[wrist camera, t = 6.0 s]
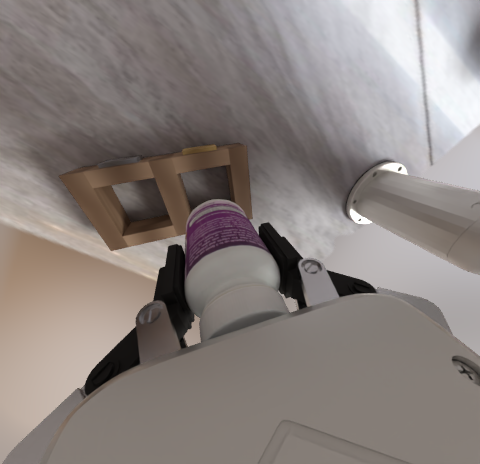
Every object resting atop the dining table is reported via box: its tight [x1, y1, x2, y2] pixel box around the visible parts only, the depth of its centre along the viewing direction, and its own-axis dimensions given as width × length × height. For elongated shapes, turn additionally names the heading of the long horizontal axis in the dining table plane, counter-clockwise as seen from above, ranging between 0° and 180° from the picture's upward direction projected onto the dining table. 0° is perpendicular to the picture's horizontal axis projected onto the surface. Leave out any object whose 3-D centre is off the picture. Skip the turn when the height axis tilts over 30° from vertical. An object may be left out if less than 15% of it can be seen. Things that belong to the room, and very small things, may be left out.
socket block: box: [59, 143, 253, 251], centre depth 23 cm, size 20×10×4 cm, turn 96°
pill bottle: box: [184, 199, 290, 342], centre depth 11 cm, size 5×5×10 cm
